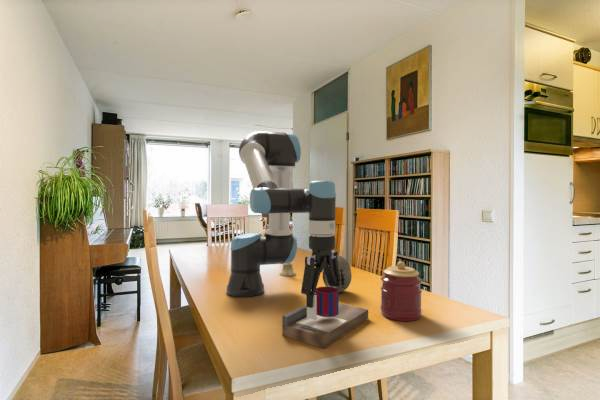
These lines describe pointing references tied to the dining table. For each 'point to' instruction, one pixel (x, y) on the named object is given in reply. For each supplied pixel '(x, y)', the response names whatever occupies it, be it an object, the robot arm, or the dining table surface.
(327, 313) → the mug
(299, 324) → the memo pad holder
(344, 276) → the decorative egg
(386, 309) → the canister
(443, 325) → the dining table surface
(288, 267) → the hand bell
